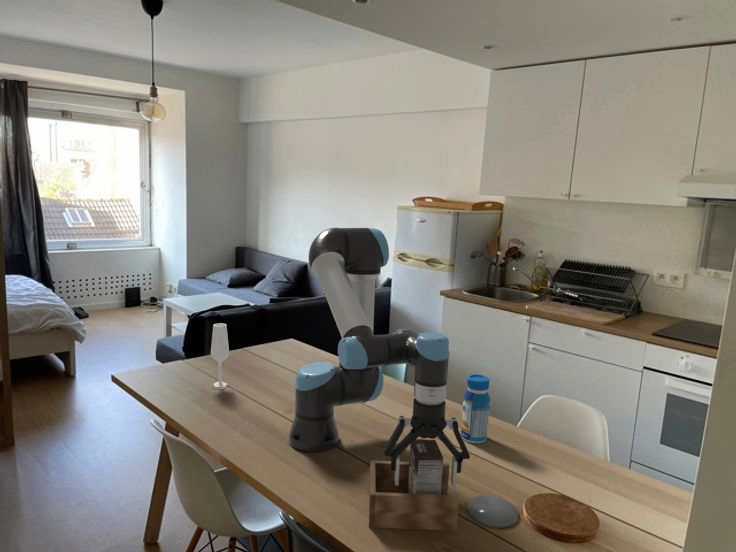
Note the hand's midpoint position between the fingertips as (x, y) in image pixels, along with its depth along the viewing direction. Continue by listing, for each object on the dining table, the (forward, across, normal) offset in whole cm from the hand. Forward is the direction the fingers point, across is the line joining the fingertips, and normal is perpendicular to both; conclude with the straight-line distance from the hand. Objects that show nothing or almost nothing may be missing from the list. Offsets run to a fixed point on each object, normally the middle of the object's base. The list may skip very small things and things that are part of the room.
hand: (424, 483), depth 126 cm
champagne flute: (+6, -70, +73) cm, 102 cm away
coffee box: (+7, 0, 0) cm, 7 cm away
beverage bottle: (+7, +20, +39) cm, 45 cm away
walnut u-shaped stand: (+7, -3, 0) cm, 8 cm away
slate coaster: (+7, +17, 0) cm, 18 cm away
